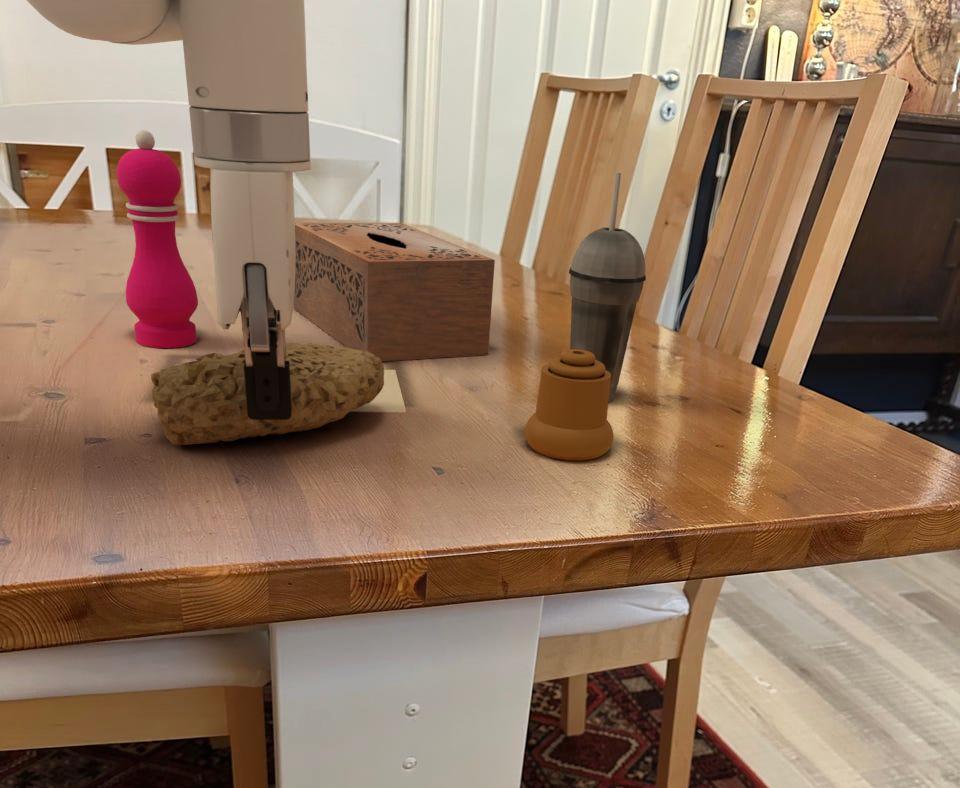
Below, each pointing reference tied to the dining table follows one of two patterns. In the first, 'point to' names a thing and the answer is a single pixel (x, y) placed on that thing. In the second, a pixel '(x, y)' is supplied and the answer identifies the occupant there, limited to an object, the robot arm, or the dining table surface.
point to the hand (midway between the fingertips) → (270, 415)
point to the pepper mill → (156, 249)
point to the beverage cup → (606, 293)
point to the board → (385, 396)
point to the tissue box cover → (393, 290)
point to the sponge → (222, 395)
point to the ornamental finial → (572, 408)
